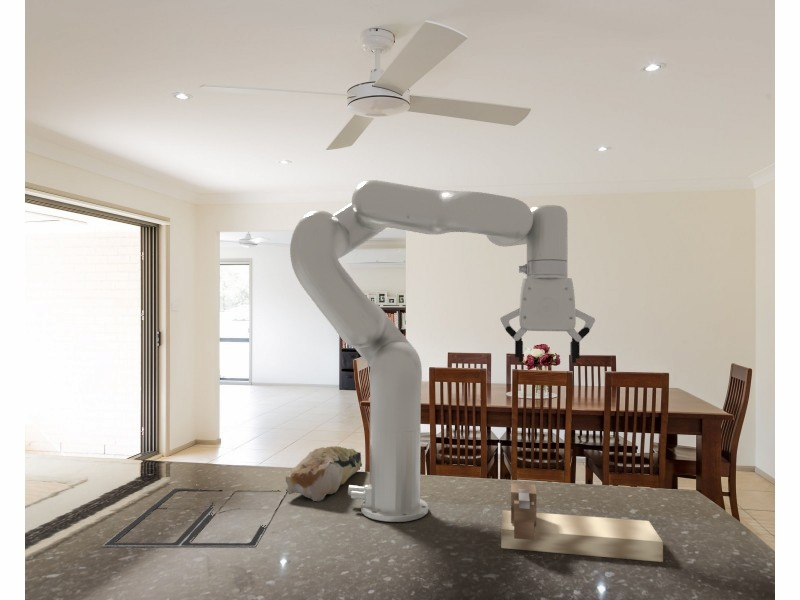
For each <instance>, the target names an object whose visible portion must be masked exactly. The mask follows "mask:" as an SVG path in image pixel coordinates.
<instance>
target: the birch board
mask: <svg viewBox="0 0 800 600" xmlns="http://www.w3.org/2000/svg"><path fill="white" fill-rule="evenodd" d="M501 512H502V513H501V528H500V530H501V533H500V534H501V535H500V541H501V542H500V544H501V545H500V547H501V549H509V550H511V549H512V550H520V551H521V550H523V551H534V552H544V553H545V552H546V553H555V554H556V553H557V554H565V555H566V554H567V555H568V554H569V555H580V556H588V557H589V556H590V557H601V558H603V557H604V558H612V559H623V560H624V559H626V560H636V561H645V562H646V561H648V562H659V563H663V562H664V547H663V546H664V542H663V540H662V539H661V537H660V536H659V534H658V532H657V531H656V530H655V528H654V527H653V525H652V523H651V522H650V521H649V520H642V519H628V518H627V519H626V518H613V517H612V518H611V517H601V516H587V515H574V514H559V513H547V512H536V525H534V540H527V539H515V538H514V523H511V510H504V509H502V510H501Z"/></svg>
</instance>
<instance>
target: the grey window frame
mask: <svg viewBox="0 0 800 600" xmlns="http://www.w3.org/2000/svg"><path fill="white" fill-rule="evenodd" d="M199 488H200V487H199ZM199 488H192V487H191V488H190V487H189V488H187V487H186V488H185V487H184V488H183V487H181V488H178V487H177V488H176V487H174V488H172V489H171V490H170V491H169V492H168V493H166V494H165V495H164V496H162V497H161V498H160V499H158V501H156V502H155V503H154V504H153V505H151V506H150V507H149V508H147V510H145V511H144V512H142V513H141V514H140V515H139V516H137V517H136V518H135V519H134V520H132V522H130V523H129V524H127V525H126V526H125V527H124V528H122V529H120V531H119V532H117V533H116V534H115V535H113V537H111V538H110V539H109V540H107V541H106V542H105V543H104V544H103V545H101V547H102V548H256V547H257V546H258V544H259V542H260V540H261V539H262V537H263V535H264V534H263V533H265V532H266V530H264V529H265V528H266V527H265V526H266V525H265V526H264V527H265V528H264V527H262V526H263V525H262V526H261V525H260V526H259V527H258V529H257V531H256V532H255V534H254V535H253V536H252V539H251V540H250V542H245V543H244V542H193V541H194V540H195V539H196V537H197V536H198V535H199V534H200V533H201V531H203V529H204V528H205V527H206V526H207V525H208V524H209V522H210V521H211V520H212V519H213V518H214V517H213V516H212V515H211V513H212V511H213V510H214V509H213V507H212V506H213V504H212V503H211V504H212V505H210V506H209V507H206V508H205V510H203V511H204V512H203V513H202V514H201V513H200V515H199V516H198V517H197V519H195V520H194V522H193V523H191V525H190V526H189V527H188V528H187V529H186V530H185V531H184V532H183V533H182V534H181V535H180V536H179V537H178V538H177V539H176V541H174V542H118V541H119V540H120V539H121V538H123V537H124V536H125V535H126V534H127V533H129V532H130V531H131V530H132V529H134V528H135V527H136V526H137V525H139V523H141V522H142V521H143V520H145V519H146V518H147V517H148V516H149V515H151V514H152V513H153V512H154V511H156V510H168V509H167V508H168V507H160V506H161V505H163V504H164V503H165V502H166V501H168V500H169V499H170V498H171V497H173V494H174V493H175V492H176V493H177V491H178V492H198V491H197V490H199ZM189 490H190V491H189ZM191 490H193V491H191ZM194 490H196V491H194ZM200 490H202V489H200ZM176 493H175V494H176ZM175 494H174V495H175ZM168 498H169V499H168ZM162 503H163V504H162ZM214 506H215V505H214ZM158 507H159V508H158ZM211 507H212V508H211ZM156 508H157V509H156ZM212 509H213V510H212ZM151 512H152V513H151ZM209 514H210V515H209ZM212 514H213V513H212ZM145 517H146V518H145ZM212 517H213V518H212ZM211 518H212V519H211ZM210 519H211V520H210ZM209 520H210V521H209ZM206 524H207V525H206ZM205 525H206V526H205ZM266 529H267V528H266ZM264 531H265V532H264ZM199 532H200V533H199ZM198 533H199V534H198ZM261 536H262V537H261ZM260 538H261V539H260ZM256 545H257V546H256Z"/></svg>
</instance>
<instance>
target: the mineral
mask: <svg viewBox="0 0 800 600" xmlns="http://www.w3.org/2000/svg"><path fill="white" fill-rule="evenodd" d="M362 466H363V463H362V453H361V452H359V451H356V450H355V449H354V448H346V447H341V446H327V447H319V448H315V449H314V450H312V451H310V452H309V453H308V454H307V455H306V456H305V457H304V458H303V459H302V460H301V461H299V463H298V464H297V465H296V466H294V467H293V468H292V470H291V471H290V473H289V475H287V476H285V482H286V484H287V488H285V489H286V491H287V494H288V495H291V494H295V493H296V494H301V495H303V497H305V498H308V499H311V500H312V501H313V502H314V501H317V502H321V501H323V500H324V499H325V497H326V496H327V495H329V494H330V495H333V494H336V493H337V491H338V490H339V488H340V486H341V485H344V484H345V483H346V482H347V481H348V480H349V478H350V477H352V476H353V475H355V474H356V473H357V472H358V471H360V470H361V467H362Z"/></svg>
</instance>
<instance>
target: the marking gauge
mask: <svg viewBox="0 0 800 600" xmlns="http://www.w3.org/2000/svg"><path fill="white" fill-rule="evenodd" d="M510 488H511V490H510V511H511V523H514V538H515V539H527V540H534V525H536V513H537V489H536V488H537V487H536V484H527V483H526V484H525V483H513V482H512V483H510Z"/></svg>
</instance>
